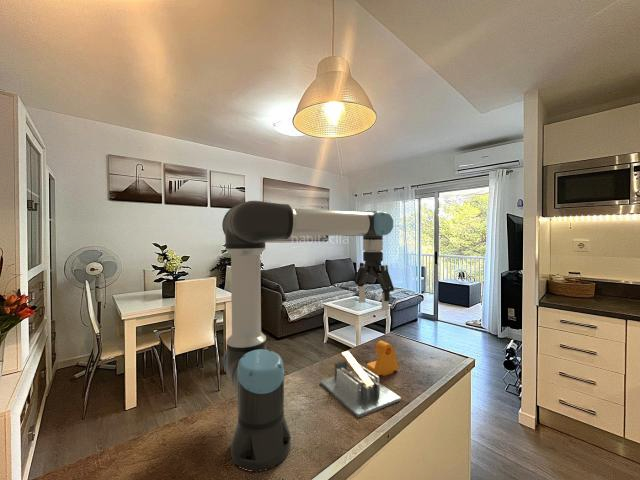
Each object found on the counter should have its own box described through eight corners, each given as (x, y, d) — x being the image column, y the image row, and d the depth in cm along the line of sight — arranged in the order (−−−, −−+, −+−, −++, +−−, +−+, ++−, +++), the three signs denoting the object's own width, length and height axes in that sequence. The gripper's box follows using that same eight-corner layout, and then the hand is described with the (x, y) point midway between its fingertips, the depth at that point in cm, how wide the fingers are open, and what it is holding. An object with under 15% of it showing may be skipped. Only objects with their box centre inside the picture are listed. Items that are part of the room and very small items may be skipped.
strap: (375, 388, 93) (376, 386, 92) (368, 391, 91) (368, 389, 91) (347, 352, 106) (348, 350, 106) (341, 354, 105) (341, 352, 104)
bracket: (385, 364, 119) (385, 336, 119) (398, 371, 113) (398, 341, 113) (366, 370, 114) (366, 341, 114) (378, 377, 108) (377, 347, 108)
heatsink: (400, 400, 93) (400, 381, 93) (357, 417, 84) (357, 396, 84) (358, 371, 113) (358, 356, 113) (320, 383, 104) (320, 366, 104)
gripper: (404, 252, 98) (404, 311, 99) (360, 249, 120) (361, 298, 120) (388, 252, 95) (388, 314, 95) (346, 250, 117) (346, 300, 117)
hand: (373, 305), depth 108 cm, fingers open, 13 cm apart
